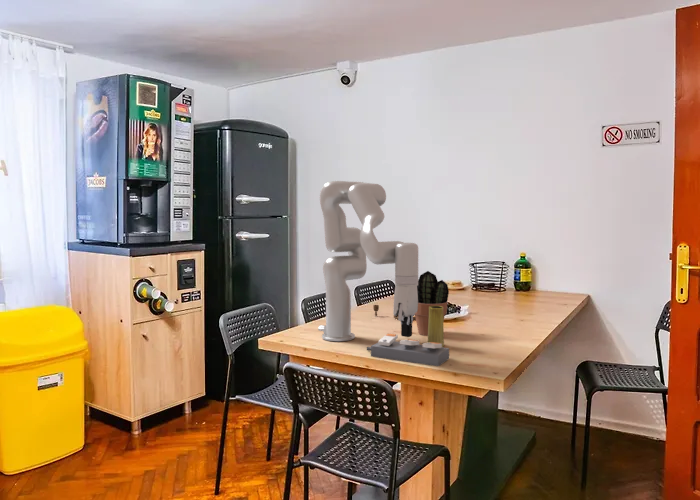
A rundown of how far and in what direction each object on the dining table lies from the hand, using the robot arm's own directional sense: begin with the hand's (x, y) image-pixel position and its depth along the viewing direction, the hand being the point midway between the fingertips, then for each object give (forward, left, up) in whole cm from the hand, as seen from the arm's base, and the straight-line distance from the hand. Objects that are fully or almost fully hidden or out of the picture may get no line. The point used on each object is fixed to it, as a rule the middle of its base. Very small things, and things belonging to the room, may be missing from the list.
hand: (406, 336), depth 177 cm
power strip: (-2, +3, -8) cm, 9 cm away
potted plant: (-7, +39, -8) cm, 40 cm away
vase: (+2, +22, -8) cm, 23 cm away
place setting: (-31, +63, -9) cm, 71 cm away
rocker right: (+8, +3, -3) cm, 9 cm away
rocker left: (-8, +3, -3) cm, 9 cm away
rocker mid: (0, +3, -3) cm, 4 cm away
